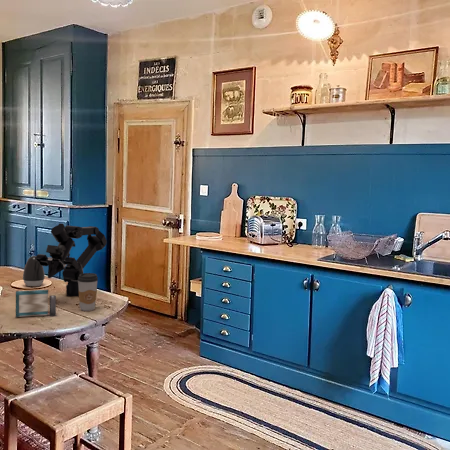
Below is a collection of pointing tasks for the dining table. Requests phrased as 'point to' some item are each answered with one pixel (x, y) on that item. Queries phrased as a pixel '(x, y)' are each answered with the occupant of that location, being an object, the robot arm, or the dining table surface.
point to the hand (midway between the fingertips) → (48, 277)
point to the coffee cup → (87, 291)
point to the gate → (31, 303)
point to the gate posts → (52, 305)
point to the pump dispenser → (33, 273)
